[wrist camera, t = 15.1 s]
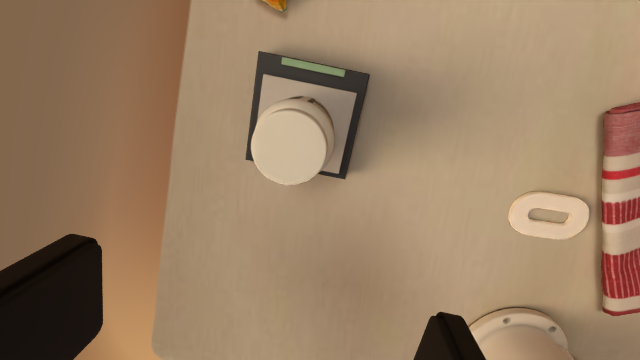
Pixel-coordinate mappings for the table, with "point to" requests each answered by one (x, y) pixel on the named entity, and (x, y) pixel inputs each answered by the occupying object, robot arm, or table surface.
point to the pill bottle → (293, 140)
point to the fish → (277, 4)
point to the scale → (318, 83)
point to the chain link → (549, 201)
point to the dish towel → (621, 211)
